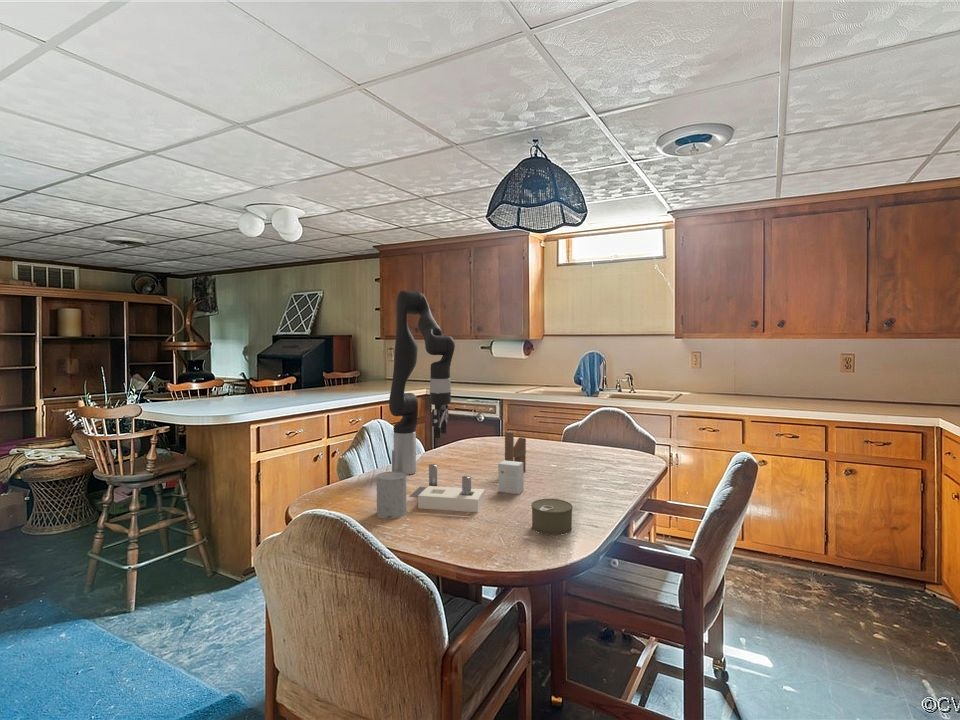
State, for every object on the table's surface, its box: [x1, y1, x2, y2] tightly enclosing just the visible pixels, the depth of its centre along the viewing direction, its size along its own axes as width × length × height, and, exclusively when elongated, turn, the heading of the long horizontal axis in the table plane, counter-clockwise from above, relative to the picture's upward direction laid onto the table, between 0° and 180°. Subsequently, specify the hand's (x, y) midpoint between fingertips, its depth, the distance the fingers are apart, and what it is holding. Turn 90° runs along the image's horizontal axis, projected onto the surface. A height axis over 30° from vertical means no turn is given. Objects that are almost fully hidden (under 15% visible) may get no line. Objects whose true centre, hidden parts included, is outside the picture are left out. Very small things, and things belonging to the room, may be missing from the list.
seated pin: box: [461, 475, 472, 496], centre depth 164 cm, size 3×3×10 cm
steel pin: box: [428, 463, 438, 486], centre depth 178 cm, size 3×3×10 cm
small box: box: [497, 459, 525, 495], centre depth 181 cm, size 8×6×10 cm
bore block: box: [417, 485, 486, 514], centre depth 165 cm, size 20×11×4 cm, turn 78°
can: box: [531, 498, 574, 536], centre depth 146 cm, size 12×12×7 cm
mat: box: [408, 486, 428, 498], centre depth 178 cm, size 14×12×1 cm
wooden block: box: [504, 430, 527, 473], centre depth 205 cm, size 4×11×18 cm, turn 137°
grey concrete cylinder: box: [375, 470, 408, 520], centre depth 158 cm, size 10×10×12 cm
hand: (440, 435), depth 179 cm, fingers open, 8 cm apart
